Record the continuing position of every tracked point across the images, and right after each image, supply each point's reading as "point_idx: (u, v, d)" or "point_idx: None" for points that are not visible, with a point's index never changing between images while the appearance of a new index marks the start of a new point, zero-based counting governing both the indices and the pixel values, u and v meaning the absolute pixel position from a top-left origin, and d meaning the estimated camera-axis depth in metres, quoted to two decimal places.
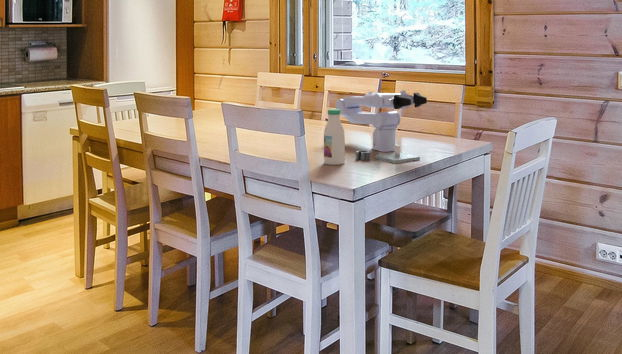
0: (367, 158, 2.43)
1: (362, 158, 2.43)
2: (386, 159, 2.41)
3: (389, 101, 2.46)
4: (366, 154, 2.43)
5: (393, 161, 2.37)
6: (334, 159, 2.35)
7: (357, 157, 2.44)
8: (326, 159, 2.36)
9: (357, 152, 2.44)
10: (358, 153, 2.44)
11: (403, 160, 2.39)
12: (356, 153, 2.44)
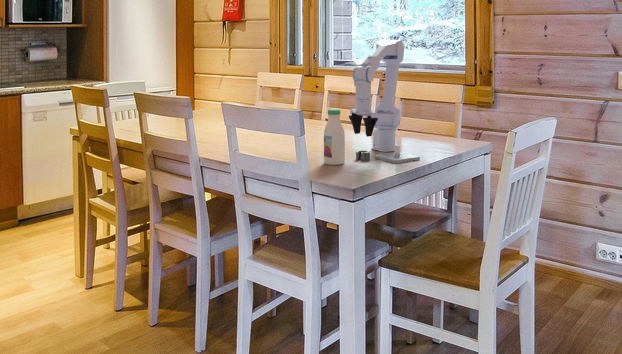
0: (367, 158, 2.43)
1: (362, 158, 2.43)
2: (386, 159, 2.41)
3: None
4: (366, 154, 2.43)
5: (393, 161, 2.37)
6: (334, 159, 2.35)
7: (357, 157, 2.44)
8: (326, 159, 2.36)
9: (357, 152, 2.44)
10: (358, 153, 2.44)
11: (403, 160, 2.39)
12: (356, 153, 2.44)
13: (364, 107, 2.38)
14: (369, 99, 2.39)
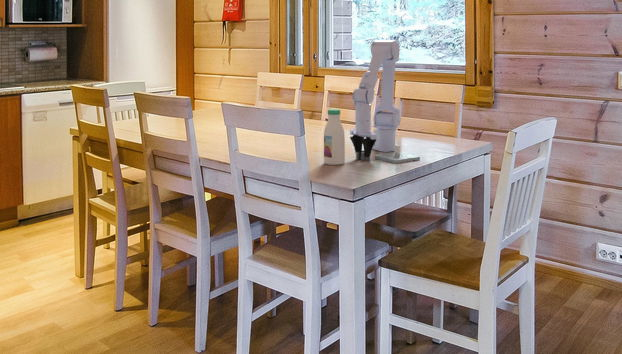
0: (367, 158, 2.43)
1: (362, 158, 2.43)
2: (386, 159, 2.41)
3: None
4: None
5: (393, 161, 2.37)
6: (334, 159, 2.35)
7: (357, 157, 2.44)
8: (326, 159, 2.36)
9: (357, 152, 2.44)
10: (358, 153, 2.44)
11: (403, 160, 2.39)
12: (356, 153, 2.44)
13: (364, 129, 2.40)
14: (369, 121, 2.40)
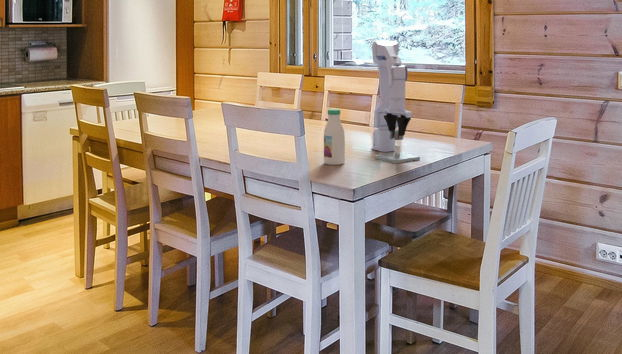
0: (400, 137, 2.41)
1: (395, 137, 2.41)
2: (386, 159, 2.41)
3: None
4: None
5: (393, 161, 2.37)
6: (334, 159, 2.35)
7: (390, 136, 2.42)
8: (326, 159, 2.36)
9: (390, 131, 2.41)
10: (391, 132, 2.42)
11: (403, 160, 2.39)
12: (389, 132, 2.42)
13: (398, 107, 2.38)
14: (403, 99, 2.38)
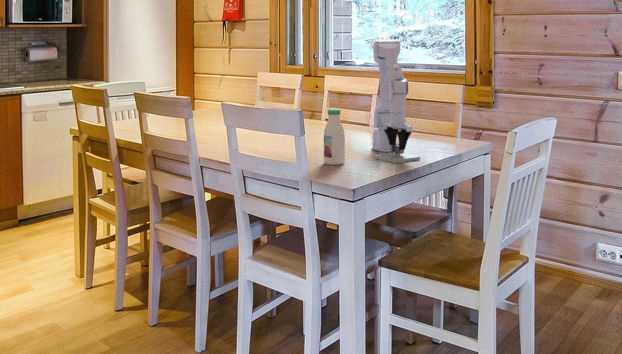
0: (401, 151, 2.42)
1: (396, 151, 2.42)
2: (386, 159, 2.41)
3: None
4: None
5: (393, 161, 2.37)
6: (334, 159, 2.35)
7: (391, 150, 2.43)
8: (326, 159, 2.36)
9: (391, 145, 2.43)
10: (392, 146, 2.43)
11: (403, 160, 2.39)
12: (390, 146, 2.43)
13: (399, 121, 2.39)
14: (404, 113, 2.39)
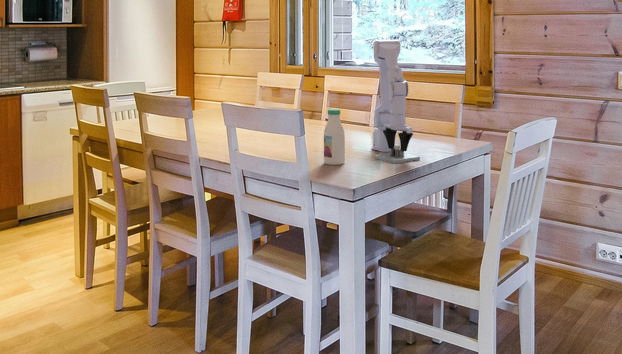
0: (401, 155, 2.42)
1: (396, 155, 2.42)
2: (386, 159, 2.41)
3: None
4: (400, 151, 2.42)
5: (393, 161, 2.37)
6: (334, 159, 2.35)
7: (391, 154, 2.43)
8: (326, 159, 2.36)
9: (391, 149, 2.43)
10: (392, 150, 2.43)
11: (403, 160, 2.39)
12: (390, 150, 2.43)
13: (399, 123, 2.39)
14: (404, 114, 2.40)
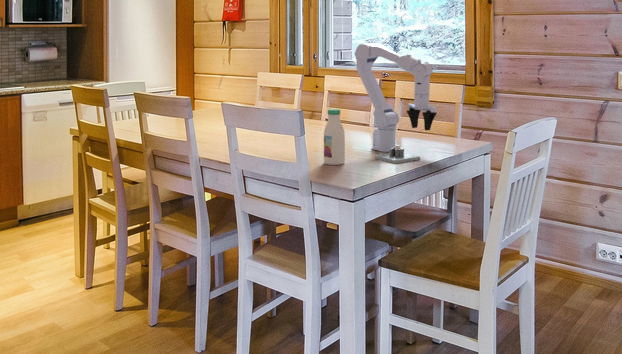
0: (401, 155, 2.42)
1: (396, 155, 2.42)
2: (386, 159, 2.41)
3: None
4: (400, 151, 2.42)
5: (393, 161, 2.37)
6: (334, 159, 2.35)
7: (391, 154, 2.43)
8: (326, 159, 2.36)
9: (391, 149, 2.43)
10: (392, 150, 2.43)
11: (403, 160, 2.39)
12: (390, 150, 2.43)
13: (423, 102, 2.47)
14: (428, 94, 2.48)
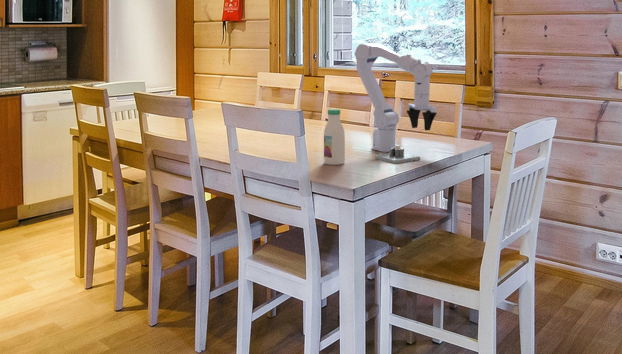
0: (401, 155, 2.42)
1: (396, 155, 2.42)
2: (386, 159, 2.41)
3: None
4: (400, 151, 2.42)
5: (393, 161, 2.37)
6: (334, 159, 2.35)
7: (391, 154, 2.43)
8: (326, 159, 2.36)
9: (391, 149, 2.43)
10: (392, 150, 2.43)
11: (403, 160, 2.39)
12: (390, 150, 2.43)
13: (423, 102, 2.47)
14: (428, 94, 2.48)
